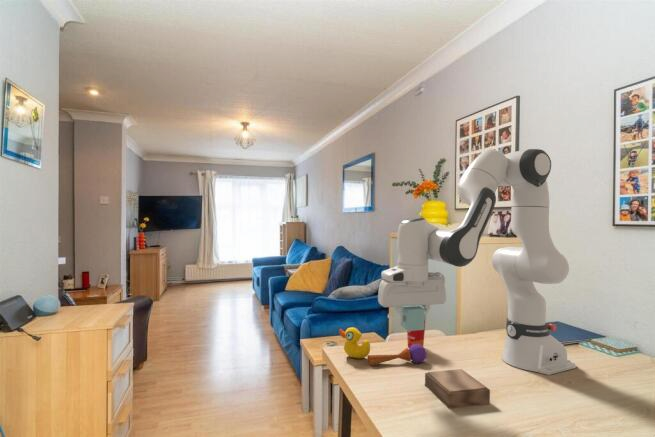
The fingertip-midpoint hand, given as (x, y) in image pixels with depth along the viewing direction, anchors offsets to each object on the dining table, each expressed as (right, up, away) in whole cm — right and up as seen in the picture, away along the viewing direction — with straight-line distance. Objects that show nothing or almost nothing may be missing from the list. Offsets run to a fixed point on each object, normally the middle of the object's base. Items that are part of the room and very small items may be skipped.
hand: (412, 320), depth 98 cm
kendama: (-1, -19, +14) cm, 24 cm away
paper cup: (+8, -19, +28) cm, 35 cm away
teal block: (0, -2, 0) cm, 2 cm away
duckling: (-15, -19, +18) cm, 30 cm away
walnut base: (+11, -19, -6) cm, 22 cm away
